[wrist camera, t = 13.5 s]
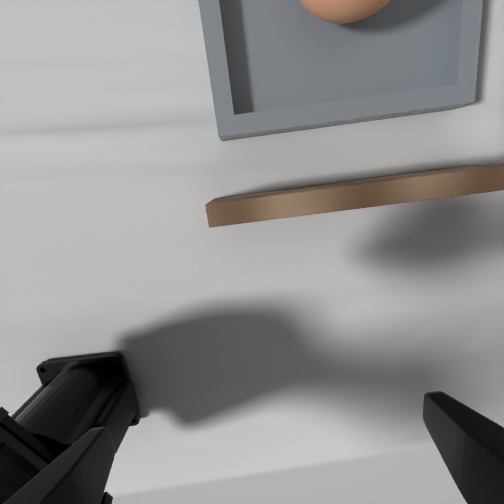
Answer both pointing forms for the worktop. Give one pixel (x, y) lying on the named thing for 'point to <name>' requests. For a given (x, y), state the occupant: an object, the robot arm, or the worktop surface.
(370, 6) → the ball
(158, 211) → the worktop surface
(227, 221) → the fence
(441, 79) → the dish
